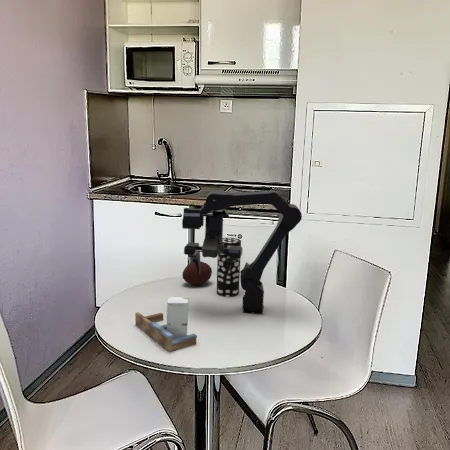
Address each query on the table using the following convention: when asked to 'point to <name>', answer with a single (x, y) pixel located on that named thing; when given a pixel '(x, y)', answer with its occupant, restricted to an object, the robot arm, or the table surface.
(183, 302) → the skincare box
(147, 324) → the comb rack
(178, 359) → the table surface
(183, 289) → the table surface
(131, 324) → the table surface
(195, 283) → the potato
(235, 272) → the spotted tube
